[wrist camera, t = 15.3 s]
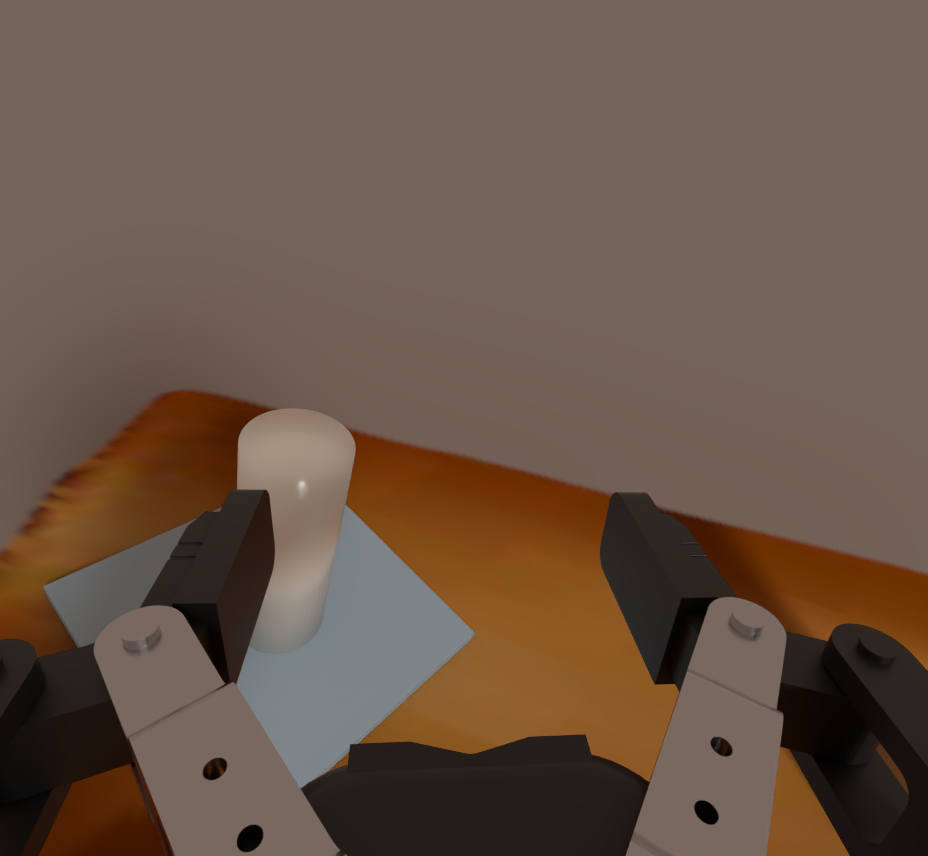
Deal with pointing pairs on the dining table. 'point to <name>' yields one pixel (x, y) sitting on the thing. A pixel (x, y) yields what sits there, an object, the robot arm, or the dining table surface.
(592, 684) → the dining table surface
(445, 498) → the dining table surface
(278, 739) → the mat
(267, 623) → the cream tall cylinder
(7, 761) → the robot arm
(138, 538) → the dining table surface
